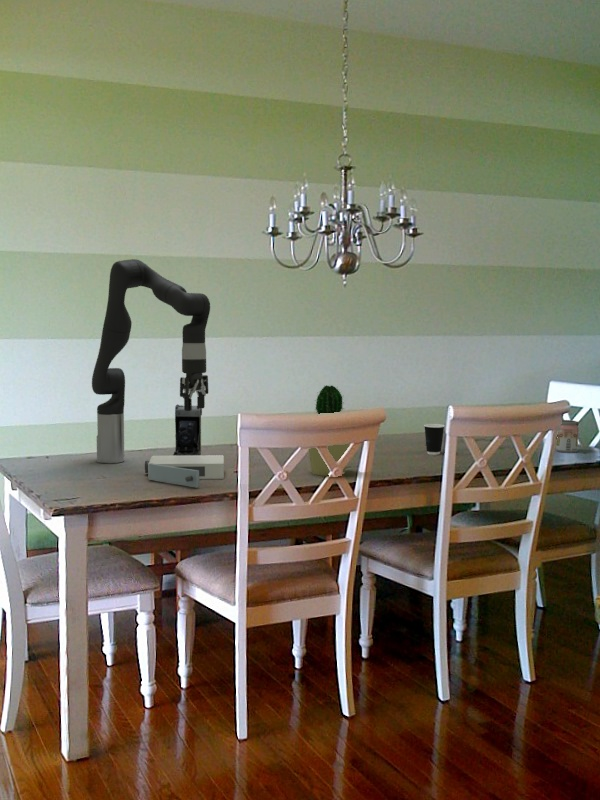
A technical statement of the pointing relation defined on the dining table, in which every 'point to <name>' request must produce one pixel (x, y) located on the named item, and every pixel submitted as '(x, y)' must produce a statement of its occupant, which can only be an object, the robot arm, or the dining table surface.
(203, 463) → the white flat box
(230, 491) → the dining table surface
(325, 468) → the potted cactus
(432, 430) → the dixie cup
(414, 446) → the dining table surface
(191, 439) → the vintage camera
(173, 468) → the side door
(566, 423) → the house shaped jar
